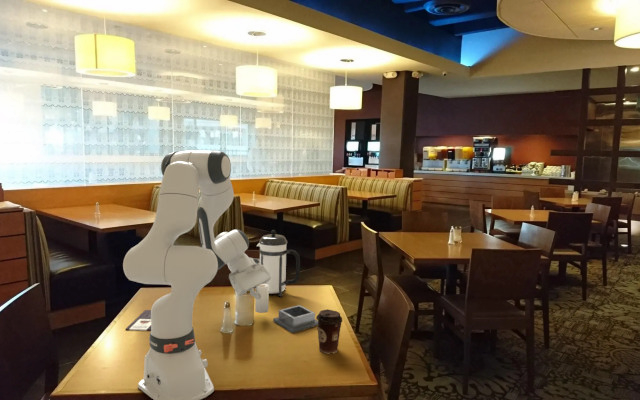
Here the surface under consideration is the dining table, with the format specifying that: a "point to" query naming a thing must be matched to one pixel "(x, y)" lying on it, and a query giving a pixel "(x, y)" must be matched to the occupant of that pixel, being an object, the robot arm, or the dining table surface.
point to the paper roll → (262, 298)
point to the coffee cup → (328, 330)
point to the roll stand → (296, 318)
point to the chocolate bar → (141, 322)
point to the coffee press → (277, 261)
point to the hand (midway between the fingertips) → (263, 296)
